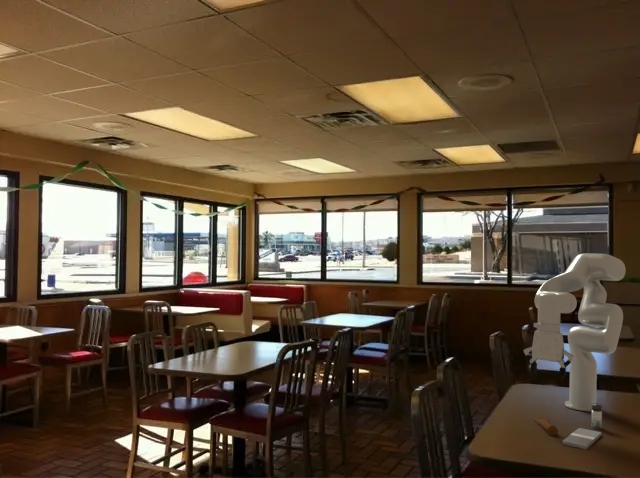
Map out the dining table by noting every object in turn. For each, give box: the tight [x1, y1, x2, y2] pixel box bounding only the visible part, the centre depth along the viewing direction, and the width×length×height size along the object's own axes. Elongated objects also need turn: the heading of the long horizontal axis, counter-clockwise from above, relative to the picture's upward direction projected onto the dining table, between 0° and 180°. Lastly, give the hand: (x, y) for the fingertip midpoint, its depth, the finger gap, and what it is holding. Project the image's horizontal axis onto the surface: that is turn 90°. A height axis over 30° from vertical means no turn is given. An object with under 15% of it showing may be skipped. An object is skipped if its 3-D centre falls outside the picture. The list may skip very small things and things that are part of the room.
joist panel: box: [562, 427, 602, 450], centre depth 185 cm, size 18×7×1 cm, turn 140°
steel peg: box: [590, 402, 603, 430], centre depth 198 cm, size 3×3×8 cm
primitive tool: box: [531, 417, 559, 437], centre depth 198 cm, size 19×6×4 cm, turn 175°
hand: (547, 376), depth 203 cm, fingers open, 9 cm apart
